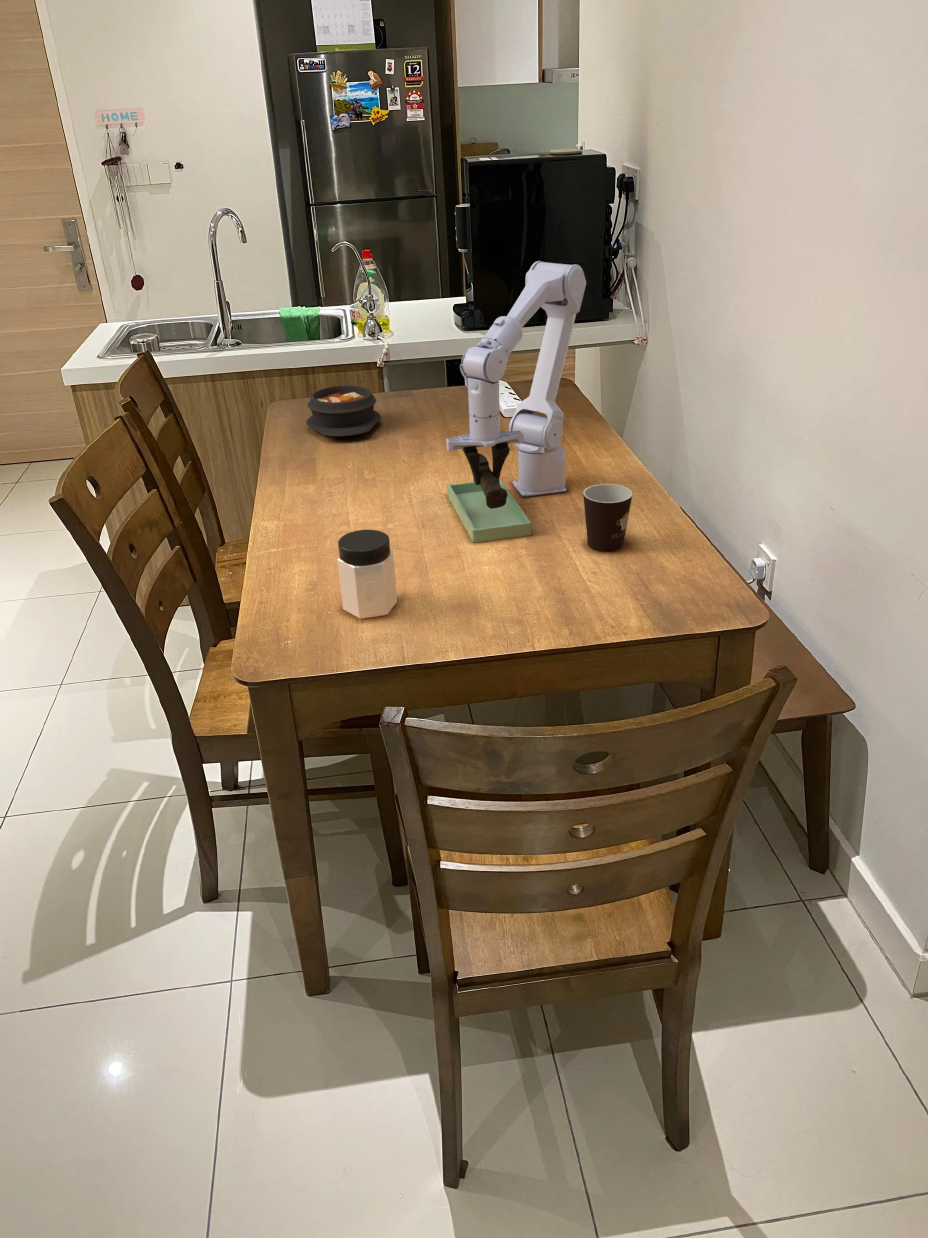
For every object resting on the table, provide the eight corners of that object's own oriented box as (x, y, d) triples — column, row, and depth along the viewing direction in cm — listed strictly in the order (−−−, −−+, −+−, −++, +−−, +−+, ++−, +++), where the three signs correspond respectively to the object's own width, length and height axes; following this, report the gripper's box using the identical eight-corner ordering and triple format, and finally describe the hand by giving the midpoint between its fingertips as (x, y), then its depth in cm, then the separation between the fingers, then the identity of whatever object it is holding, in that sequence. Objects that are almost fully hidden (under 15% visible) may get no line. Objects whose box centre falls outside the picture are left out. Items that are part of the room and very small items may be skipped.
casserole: (386, 439, 223) (384, 405, 219) (308, 447, 221) (304, 412, 217) (376, 408, 245) (374, 376, 240) (305, 415, 242) (301, 383, 238)
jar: (346, 622, 149) (338, 554, 143) (340, 598, 156) (332, 533, 150) (401, 614, 150) (395, 547, 144) (393, 590, 157) (387, 525, 151)
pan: (500, 489, 194) (500, 478, 193) (531, 535, 174) (531, 522, 173) (447, 495, 192) (447, 484, 191) (473, 542, 172) (472, 530, 171)
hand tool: (508, 508, 172) (507, 484, 170) (486, 510, 172) (485, 486, 169) (491, 471, 188) (490, 449, 186) (472, 473, 188) (471, 451, 186)
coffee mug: (599, 558, 165) (601, 506, 160) (572, 541, 171) (573, 490, 166) (652, 543, 169) (656, 492, 164) (624, 526, 176) (627, 477, 171)
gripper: (450, 423, 168) (453, 494, 175) (527, 415, 171) (528, 485, 177) (442, 412, 174) (446, 480, 181) (517, 404, 177) (518, 472, 183)
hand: (486, 481), depth 180 cm, fingers closed on hand tool, 3 cm apart
